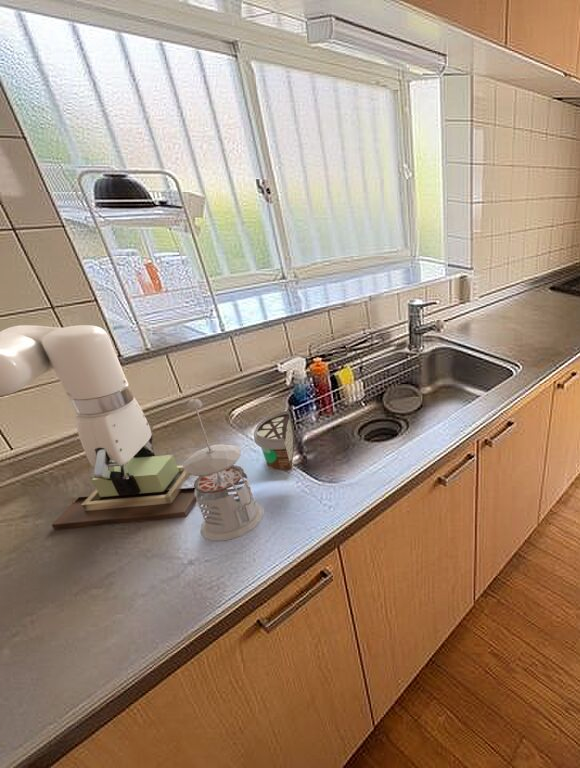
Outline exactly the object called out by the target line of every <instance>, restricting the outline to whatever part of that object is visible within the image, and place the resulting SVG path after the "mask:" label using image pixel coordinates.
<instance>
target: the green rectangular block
mask: <svg viewBox="0 0 580 768" xmlns="http://www.w3.org/2000/svg"><path fill="white" fill-rule="evenodd" d="M112 462H116V461H113V460H112ZM128 465H129V473H130V475H133V476H134V478H135V480H136V482H137V484H138V487H139V489H140V493H139V494H141V493H152V492H163V491H164V490H167V488H168V487H169V485H170V484H171V483H172V481H173V480H174V479H175V478H176V476H177V475H178V474H179V472H180V471H179V469H178V467H177V466H178V465H177V462H176V459H175V456H174V454H167V455H166V454H165V455H155V456H152V457H138V458H134V457H132V458H131V459H130V460H129V461H128ZM114 470H115V471H117V472H121V468H120V466H114ZM91 482H92V483H93V486H94V487H95V490H96V489H97V491H98V493H99V495H100V497H107V496H118V493H117V491H116V489H115V487H114V485H113V483H112V481H108V480H105V479H99V478H94V477H93V478H92V479H91Z"/></svg>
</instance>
